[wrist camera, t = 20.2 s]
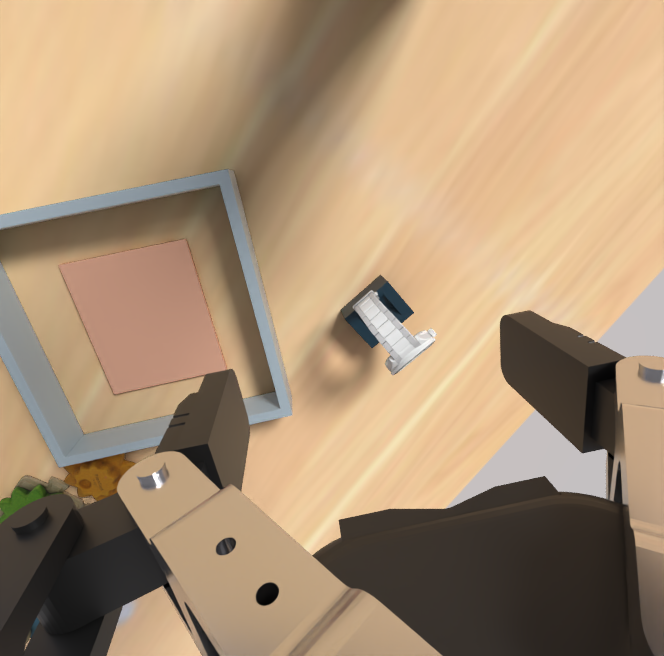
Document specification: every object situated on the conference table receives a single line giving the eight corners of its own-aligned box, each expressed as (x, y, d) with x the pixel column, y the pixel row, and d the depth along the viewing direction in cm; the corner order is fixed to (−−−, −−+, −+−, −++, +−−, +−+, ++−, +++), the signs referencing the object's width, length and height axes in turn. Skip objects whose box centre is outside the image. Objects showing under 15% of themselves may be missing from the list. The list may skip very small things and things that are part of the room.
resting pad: (60, 264, 38) (58, 265, 38) (186, 238, 38) (185, 239, 38) (115, 392, 43) (114, 394, 42) (226, 368, 43) (226, 369, 43)
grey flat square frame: (-30, 224, 36) (-67, 228, 32) (233, 170, 37) (227, 169, 33) (78, 443, 44) (59, 467, 40) (291, 396, 45) (292, 415, 41)
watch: (377, 349, 44) (405, 398, 34) (329, 297, 42) (343, 334, 31) (416, 316, 44) (457, 356, 33) (370, 261, 41) (398, 286, 31)
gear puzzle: (63, 409, 43) (42, 431, 40) (194, 477, 48) (186, 502, 44) (-60, 591, 49) (-89, 625, 46) (66, 636, 54) (49, 670, 50)
